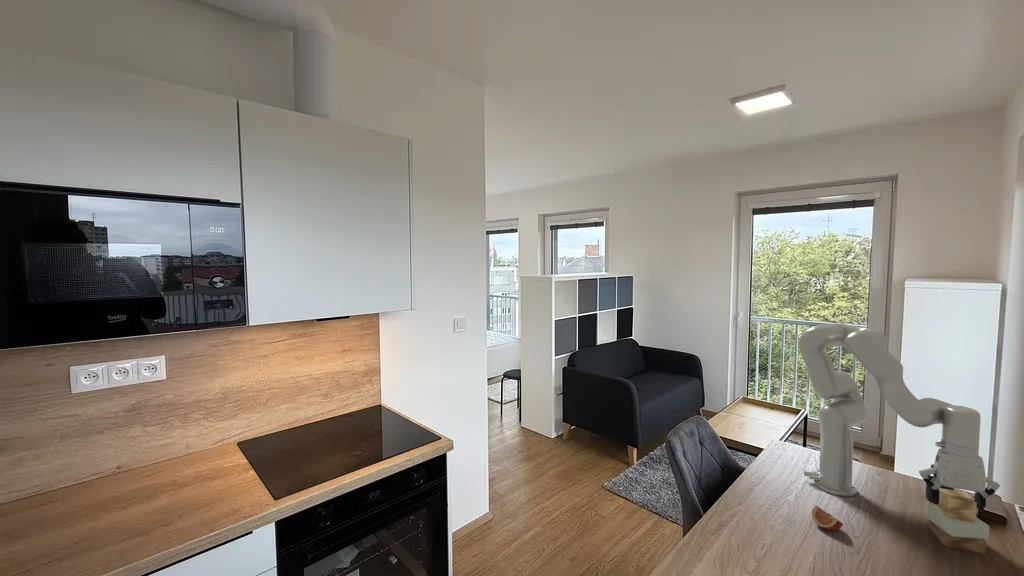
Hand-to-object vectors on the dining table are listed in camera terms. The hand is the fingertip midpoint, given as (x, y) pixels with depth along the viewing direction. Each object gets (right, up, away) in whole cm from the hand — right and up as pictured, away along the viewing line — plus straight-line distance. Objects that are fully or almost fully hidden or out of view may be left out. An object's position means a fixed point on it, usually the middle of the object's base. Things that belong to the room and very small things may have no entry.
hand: (956, 504), depth 125 cm
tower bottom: (0, -11, 0) cm, 11 cm away
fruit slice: (-33, -11, +7) cm, 36 cm away
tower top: (0, -7, 0) cm, 7 cm away
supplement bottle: (+15, -9, +20) cm, 27 cm away
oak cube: (0, -3, 0) cm, 3 cm away
